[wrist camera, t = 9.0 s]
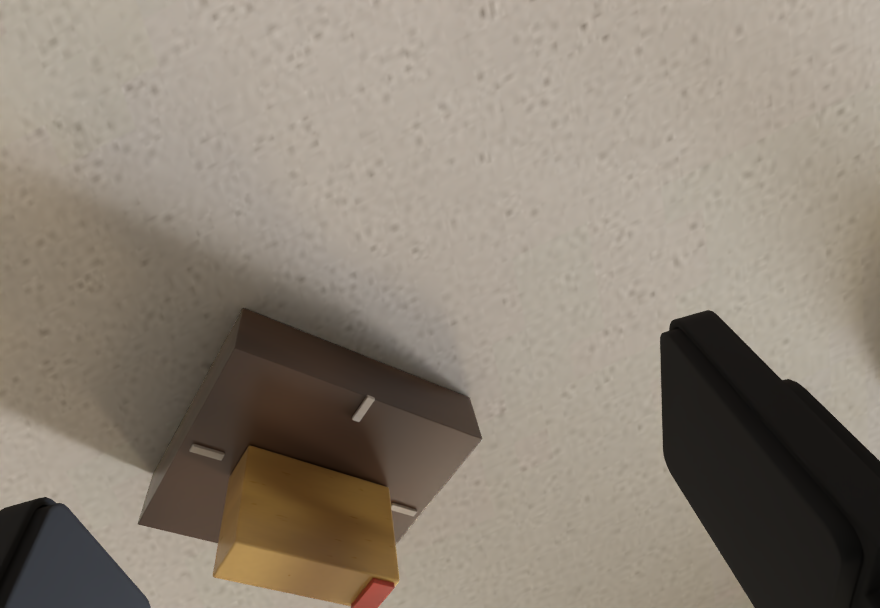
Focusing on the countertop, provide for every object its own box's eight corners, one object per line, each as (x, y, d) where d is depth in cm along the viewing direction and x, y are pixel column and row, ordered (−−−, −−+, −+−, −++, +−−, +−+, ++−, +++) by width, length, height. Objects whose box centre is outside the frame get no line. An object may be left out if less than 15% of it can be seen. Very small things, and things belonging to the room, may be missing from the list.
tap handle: (228, 477, 27) (210, 583, 23) (248, 443, 27) (234, 547, 22) (367, 516, 30) (374, 617, 26) (389, 486, 29) (401, 586, 25)
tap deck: (151, 476, 31) (135, 529, 28) (243, 305, 26) (235, 348, 24) (364, 533, 35) (367, 582, 33) (471, 396, 31) (484, 440, 29)
